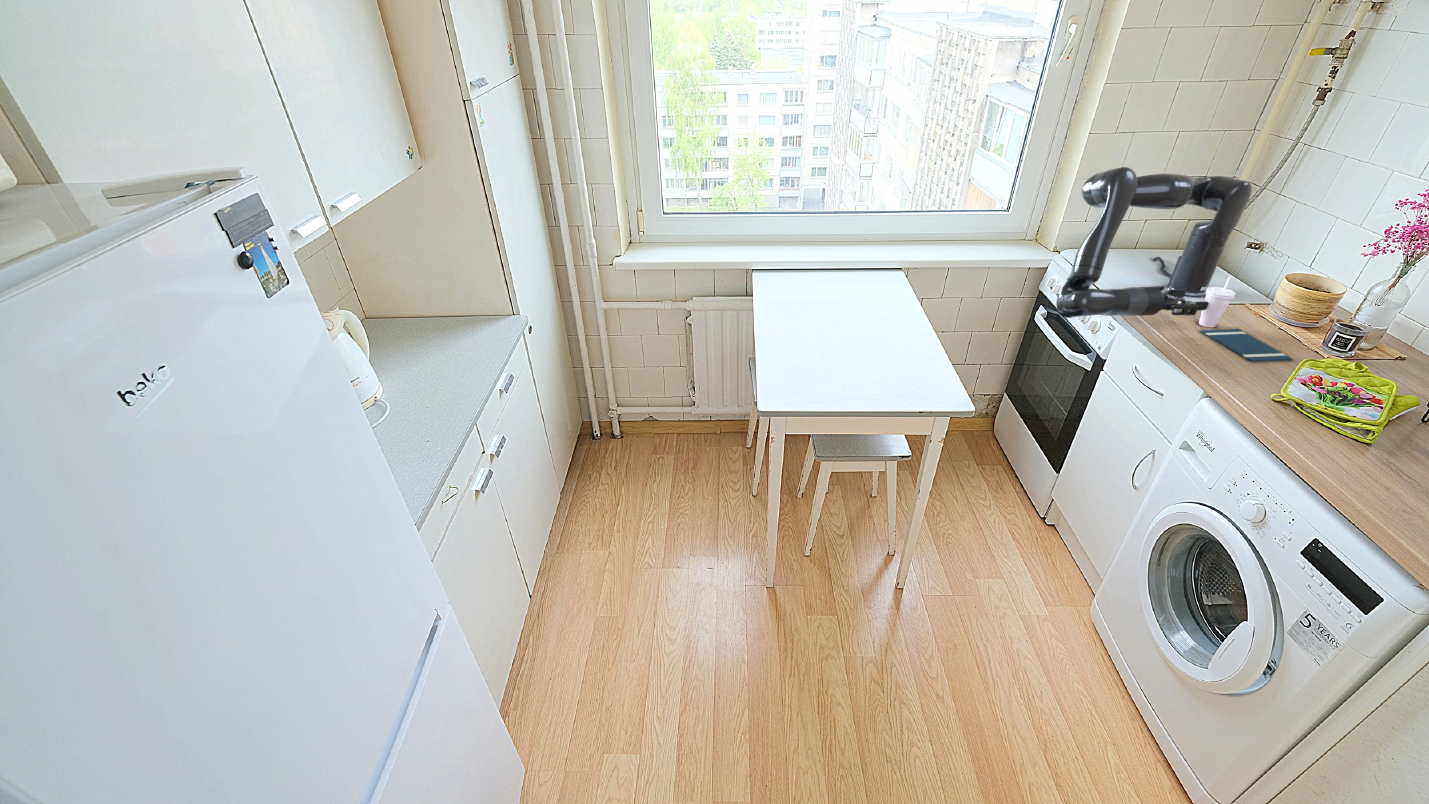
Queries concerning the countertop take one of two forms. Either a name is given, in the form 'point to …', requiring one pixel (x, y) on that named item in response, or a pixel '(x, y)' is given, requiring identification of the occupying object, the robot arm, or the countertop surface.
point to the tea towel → (1245, 345)
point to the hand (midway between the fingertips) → (1195, 299)
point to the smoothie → (1216, 304)
